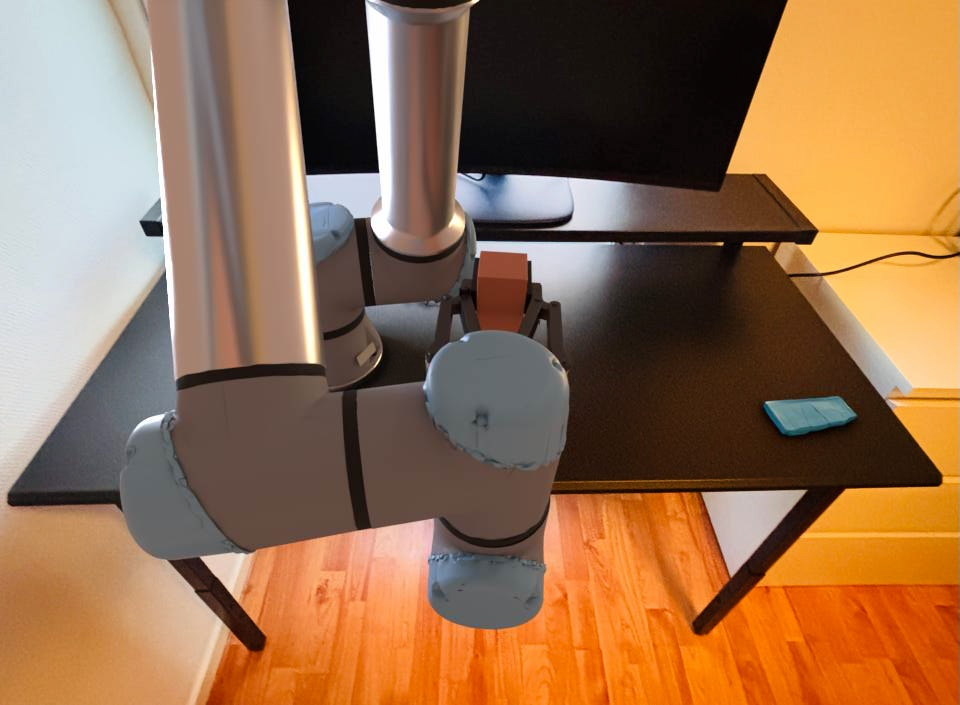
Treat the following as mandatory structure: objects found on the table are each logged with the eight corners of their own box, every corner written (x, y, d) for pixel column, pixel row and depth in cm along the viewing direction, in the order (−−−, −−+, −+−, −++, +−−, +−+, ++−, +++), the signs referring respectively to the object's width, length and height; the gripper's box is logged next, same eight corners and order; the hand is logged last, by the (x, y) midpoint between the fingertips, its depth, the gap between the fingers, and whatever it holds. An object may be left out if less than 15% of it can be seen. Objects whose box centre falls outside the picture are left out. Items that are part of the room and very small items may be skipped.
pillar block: (474, 351, 60) (477, 276, 53) (477, 323, 64) (480, 250, 57) (519, 354, 60) (527, 279, 53) (519, 326, 63) (527, 253, 57)
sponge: (867, 428, 73) (843, 393, 76) (784, 433, 71) (765, 398, 75) (860, 434, 74) (837, 399, 78) (779, 439, 73) (760, 404, 76)
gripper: (390, 444, 47) (425, 290, 64) (595, 458, 47) (575, 300, 64) (382, 384, 42) (423, 235, 59) (612, 399, 42) (586, 245, 59)
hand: (502, 269), depth 62 cm, fingers closed on pillar block, 5 cm apart
